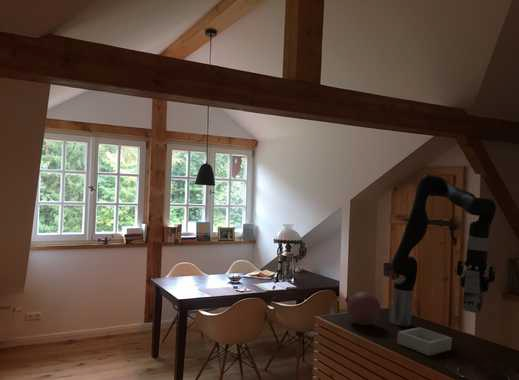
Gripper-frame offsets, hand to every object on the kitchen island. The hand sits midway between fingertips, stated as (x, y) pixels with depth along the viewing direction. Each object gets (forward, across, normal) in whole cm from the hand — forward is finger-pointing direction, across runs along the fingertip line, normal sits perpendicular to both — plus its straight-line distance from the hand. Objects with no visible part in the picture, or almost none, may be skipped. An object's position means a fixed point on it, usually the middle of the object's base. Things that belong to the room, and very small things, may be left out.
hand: (473, 289), depth 175 cm
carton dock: (+28, +17, +4) cm, 33 cm away
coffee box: (+8, 0, 0) cm, 8 cm away
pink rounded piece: (+28, +51, +5) cm, 58 cm away
